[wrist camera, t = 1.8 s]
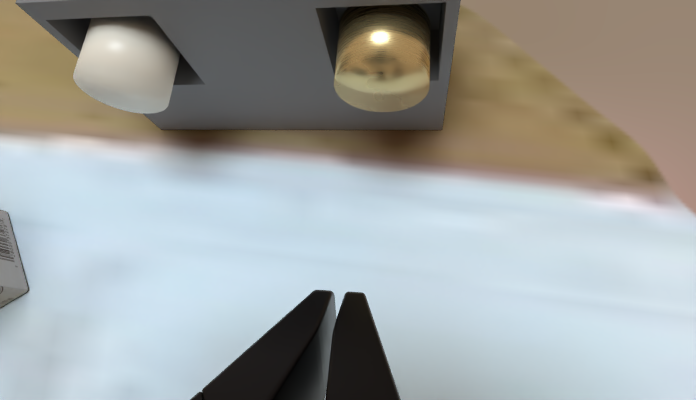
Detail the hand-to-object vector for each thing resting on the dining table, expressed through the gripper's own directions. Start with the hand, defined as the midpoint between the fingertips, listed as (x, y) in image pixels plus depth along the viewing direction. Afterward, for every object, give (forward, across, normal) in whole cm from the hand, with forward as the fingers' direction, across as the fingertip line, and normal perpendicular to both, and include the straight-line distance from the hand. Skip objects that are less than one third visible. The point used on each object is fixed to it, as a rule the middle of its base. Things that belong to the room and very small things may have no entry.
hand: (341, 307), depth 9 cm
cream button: (+13, +12, -2) cm, 18 cm away
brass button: (+13, 0, -2) cm, 14 cm away
